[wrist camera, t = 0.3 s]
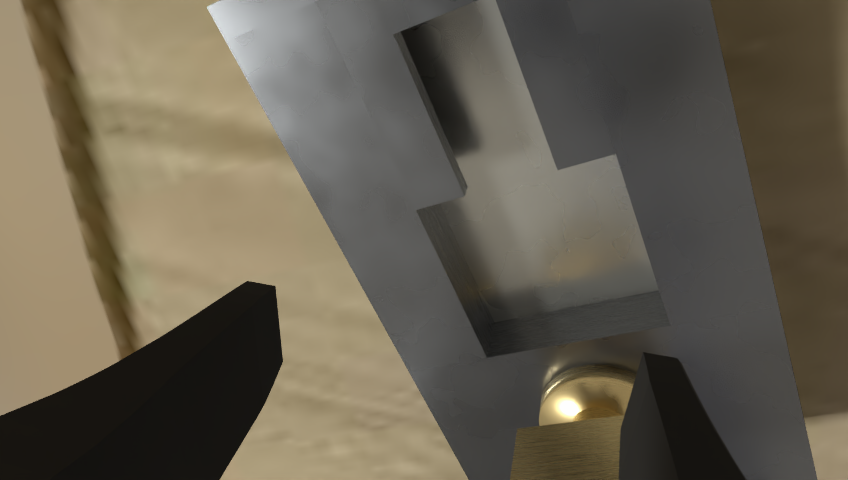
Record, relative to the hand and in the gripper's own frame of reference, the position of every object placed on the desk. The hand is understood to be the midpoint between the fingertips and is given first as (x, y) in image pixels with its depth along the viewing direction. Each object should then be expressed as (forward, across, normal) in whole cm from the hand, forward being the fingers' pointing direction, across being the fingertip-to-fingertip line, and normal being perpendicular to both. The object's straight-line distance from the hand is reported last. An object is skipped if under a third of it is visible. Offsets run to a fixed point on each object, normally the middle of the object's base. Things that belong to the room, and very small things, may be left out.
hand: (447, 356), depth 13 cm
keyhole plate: (+10, -2, +3) cm, 10 cm away
